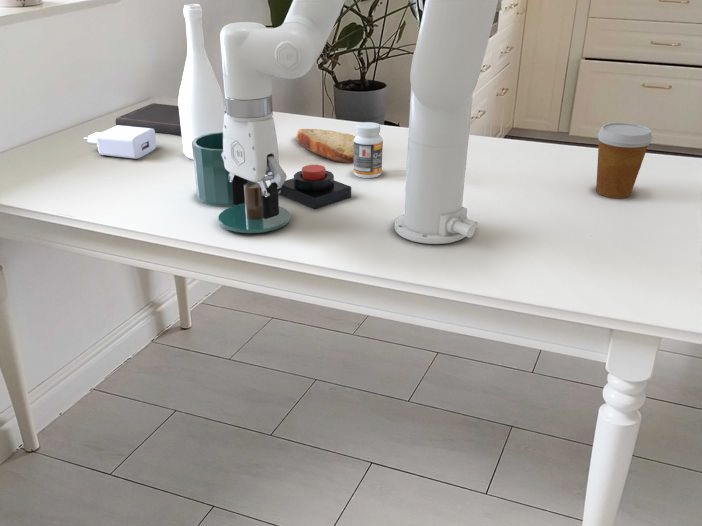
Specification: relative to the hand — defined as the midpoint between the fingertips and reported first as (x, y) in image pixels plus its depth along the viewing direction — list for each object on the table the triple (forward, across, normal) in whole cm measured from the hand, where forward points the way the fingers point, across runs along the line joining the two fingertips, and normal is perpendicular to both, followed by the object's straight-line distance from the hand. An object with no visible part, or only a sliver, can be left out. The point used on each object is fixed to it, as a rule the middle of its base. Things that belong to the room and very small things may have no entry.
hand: (255, 209), depth 130 cm
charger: (+2, -54, +2) cm, 54 cm away
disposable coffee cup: (+3, +34, +59) cm, 68 cm away
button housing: (+2, -3, +16) cm, 16 cm away
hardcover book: (+2, -64, +23) cm, 68 cm away
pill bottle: (+3, -5, +32) cm, 33 cm away
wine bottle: (+3, -38, +15) cm, 41 cm away
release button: (-1, -3, +16) cm, 16 cm away
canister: (+2, -14, +4) cm, 15 cm away
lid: (+2, 0, 0) cm, 2 cm away
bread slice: (+3, -23, +37) cm, 44 cm away
